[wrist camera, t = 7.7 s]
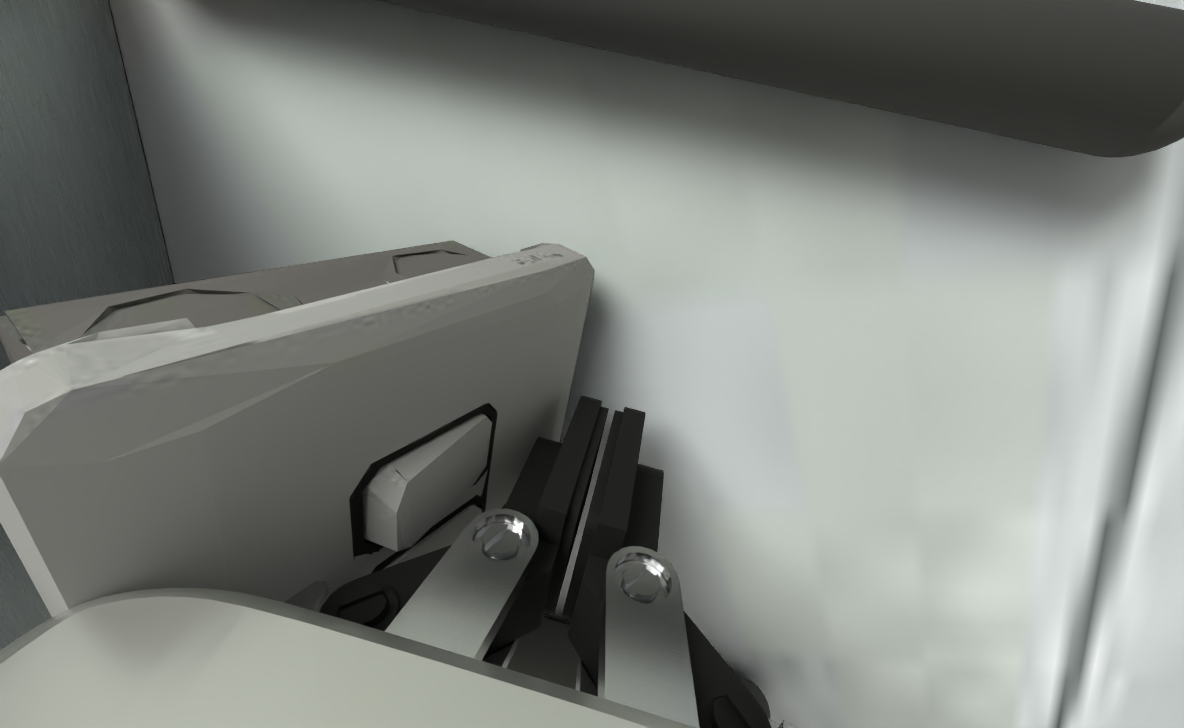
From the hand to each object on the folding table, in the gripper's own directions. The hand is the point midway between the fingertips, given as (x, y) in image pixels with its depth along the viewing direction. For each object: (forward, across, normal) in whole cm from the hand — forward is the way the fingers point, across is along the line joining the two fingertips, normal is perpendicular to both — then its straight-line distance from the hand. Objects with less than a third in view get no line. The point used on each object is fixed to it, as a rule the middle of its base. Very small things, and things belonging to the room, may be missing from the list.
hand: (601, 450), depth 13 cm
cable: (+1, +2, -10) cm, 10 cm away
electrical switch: (+1, +4, 0) cm, 4 cm away
